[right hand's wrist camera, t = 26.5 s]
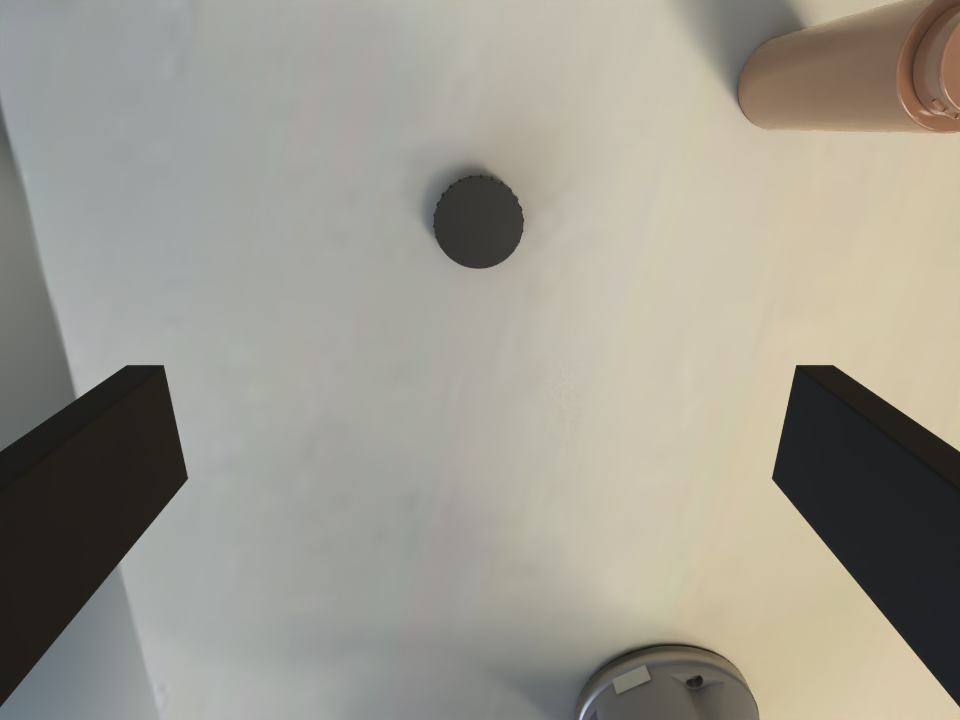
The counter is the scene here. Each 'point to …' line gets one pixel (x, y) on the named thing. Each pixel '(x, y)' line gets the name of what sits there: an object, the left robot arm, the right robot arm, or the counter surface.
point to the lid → (478, 222)
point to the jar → (861, 73)
